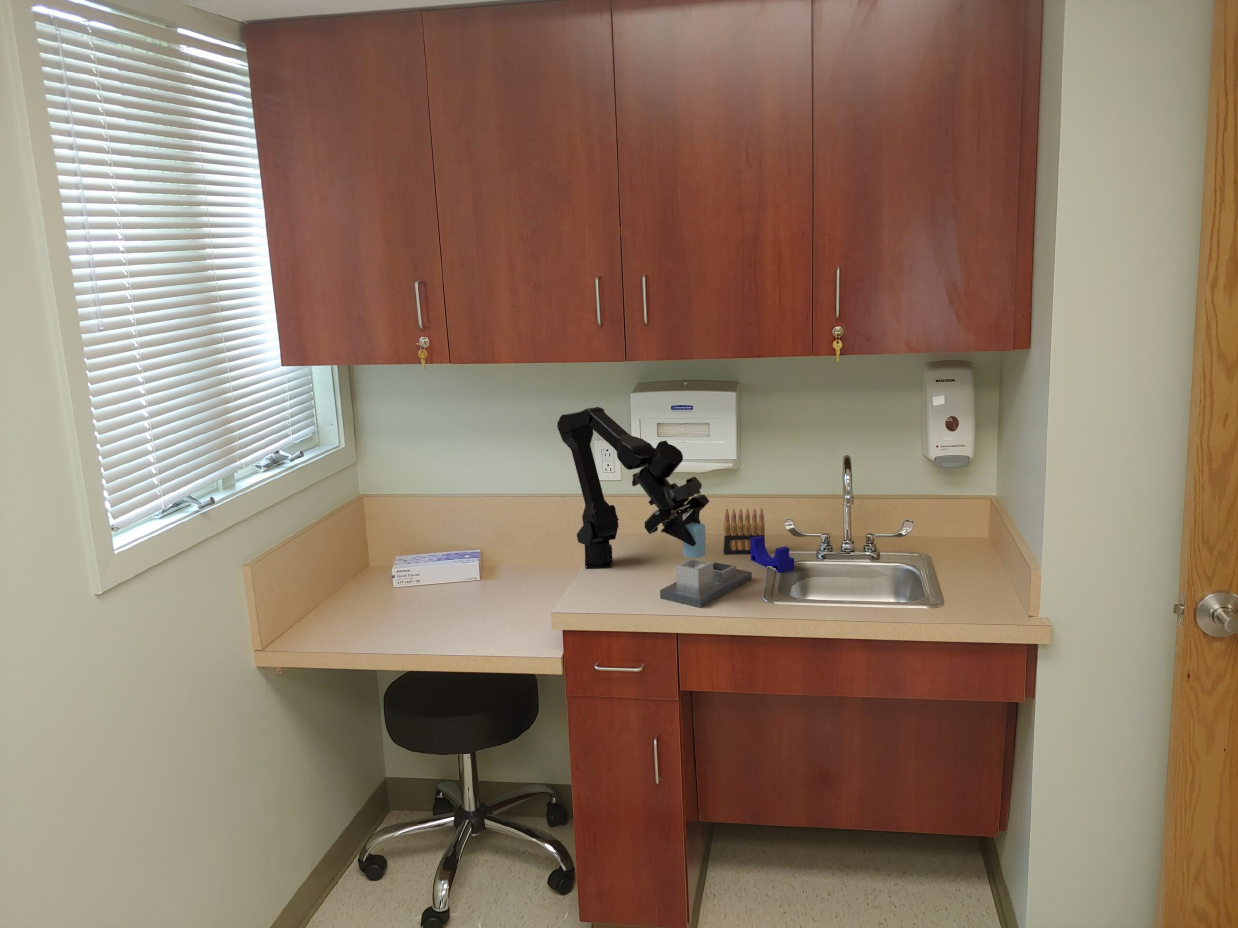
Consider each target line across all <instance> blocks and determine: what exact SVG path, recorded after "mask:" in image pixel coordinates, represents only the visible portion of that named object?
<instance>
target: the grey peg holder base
mask: <svg viewBox="0 0 1238 928" xmlns="http://www.w3.org/2000/svg"><path fill="white" fill-rule="evenodd" d="M675 571H676V572H675V573H676V577H675V578H676V581H675V582H674V583H671V584H669V585H668V586H665V587H663V588H661V589H660V590H659V597H660V598H659V599H662V600H666V601H670V602H674V603H678V604H683V605H687V606H690V607H691V606H692V607H696V608H699V609H700V608H703V607H705V606H707V605H709V604H710V603H713V602H714V601H716V600H718V599H720V598H721V597H723V596H726V595H727V594H729V593H731V592H733V591H734V590H736V589H738V588H740V587H741V586H744V585H746V584H747V583H749V582H751V581H753V571H747V570H744V569H739V568H737V565H735V564H730V563H725V562H720V561H707V560H701V559H698V558H697V559H696V558H691V557H690V558H688V559H687V560H684V561H682V562H680V563H678V564H675Z"/></svg>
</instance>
